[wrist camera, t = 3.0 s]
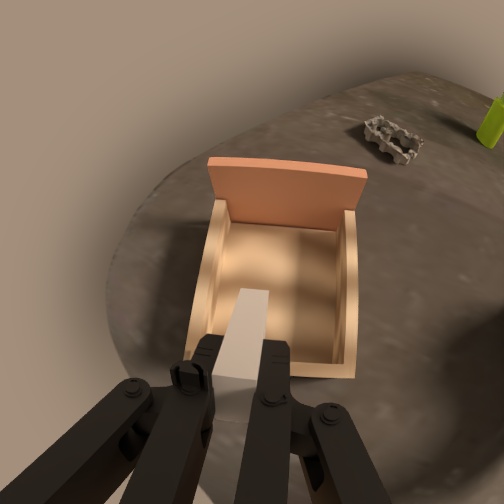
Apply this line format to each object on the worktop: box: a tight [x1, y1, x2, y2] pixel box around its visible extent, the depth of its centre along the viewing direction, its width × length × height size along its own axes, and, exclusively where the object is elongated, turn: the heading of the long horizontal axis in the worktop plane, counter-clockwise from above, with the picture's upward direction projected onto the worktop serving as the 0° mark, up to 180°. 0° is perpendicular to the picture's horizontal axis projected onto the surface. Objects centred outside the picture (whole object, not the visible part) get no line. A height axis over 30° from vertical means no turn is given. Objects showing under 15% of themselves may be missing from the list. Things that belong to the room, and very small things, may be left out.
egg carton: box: [364, 115, 424, 165], centre depth 42 cm, size 11×8×4 cm
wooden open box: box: [183, 200, 358, 378], centre depth 29 cm, size 18×16×9 cm
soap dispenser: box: [476, 93, 504, 149], centre depth 36 cm, size 6×7×20 cm
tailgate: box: [207, 157, 368, 232], centre depth 31 cm, size 1×16×12 cm, turn 82°
